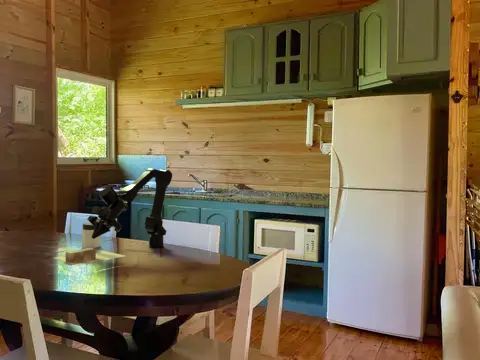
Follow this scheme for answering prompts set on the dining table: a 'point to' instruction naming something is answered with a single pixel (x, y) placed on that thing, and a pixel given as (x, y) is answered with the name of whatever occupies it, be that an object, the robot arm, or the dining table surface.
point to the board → (100, 256)
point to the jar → (89, 237)
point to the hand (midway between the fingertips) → (92, 238)
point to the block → (80, 255)
